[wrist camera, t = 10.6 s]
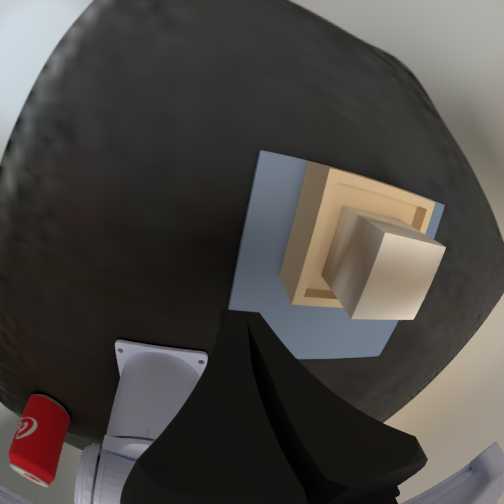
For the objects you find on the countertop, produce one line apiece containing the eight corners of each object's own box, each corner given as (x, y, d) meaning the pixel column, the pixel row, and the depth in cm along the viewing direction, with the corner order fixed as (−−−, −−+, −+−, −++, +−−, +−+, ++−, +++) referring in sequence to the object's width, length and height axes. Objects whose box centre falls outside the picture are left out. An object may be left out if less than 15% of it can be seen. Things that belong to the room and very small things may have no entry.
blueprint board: (376, 351, 25) (394, 379, 21) (220, 350, 22) (222, 388, 18) (440, 203, 19) (472, 218, 15) (259, 149, 16) (272, 154, 12)
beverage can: (25, 385, 22) (-4, 455, 12) (61, 396, 23) (36, 476, 13) (43, 412, 25) (22, 477, 14) (77, 422, 26) (60, 494, 15)
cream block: (377, 281, 17) (413, 319, 13) (321, 275, 17) (350, 318, 13) (400, 219, 16) (445, 247, 12) (342, 204, 15) (385, 232, 11)
